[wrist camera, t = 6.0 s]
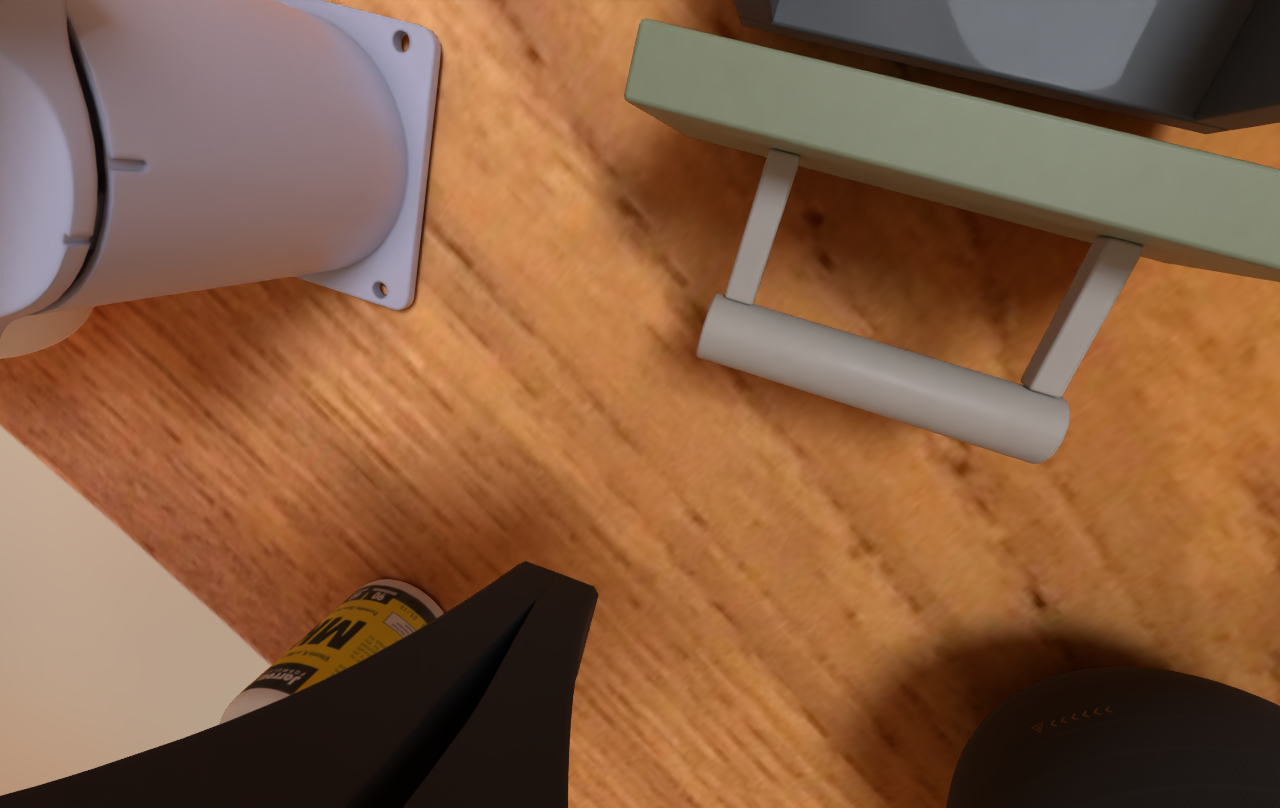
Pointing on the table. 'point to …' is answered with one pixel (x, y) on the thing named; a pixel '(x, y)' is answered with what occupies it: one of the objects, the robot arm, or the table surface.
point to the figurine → (40, 331)
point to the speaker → (1123, 745)
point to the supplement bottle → (341, 641)
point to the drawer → (981, 169)
